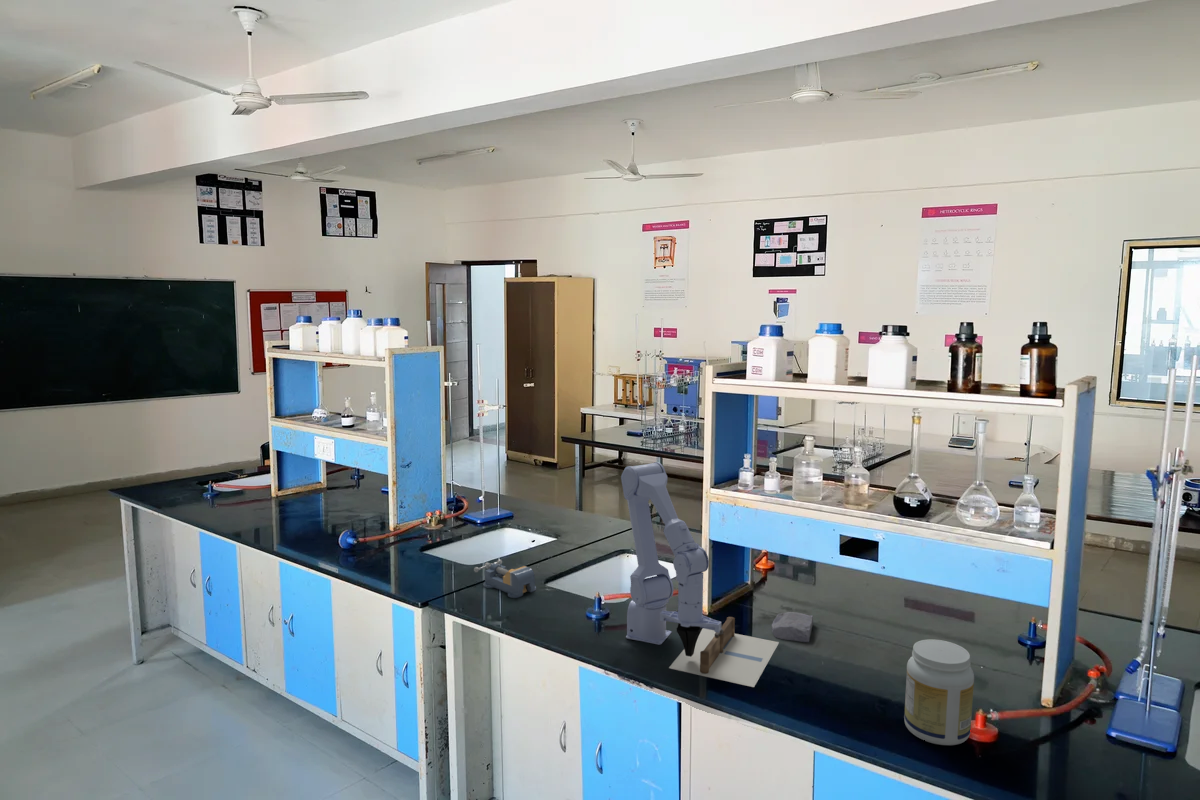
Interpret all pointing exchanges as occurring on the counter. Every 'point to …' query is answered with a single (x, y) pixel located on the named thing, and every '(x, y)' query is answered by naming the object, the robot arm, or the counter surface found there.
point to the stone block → (793, 626)
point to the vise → (509, 579)
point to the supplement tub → (939, 692)
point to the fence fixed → (727, 632)
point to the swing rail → (710, 653)
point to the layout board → (730, 658)
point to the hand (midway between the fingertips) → (689, 654)
